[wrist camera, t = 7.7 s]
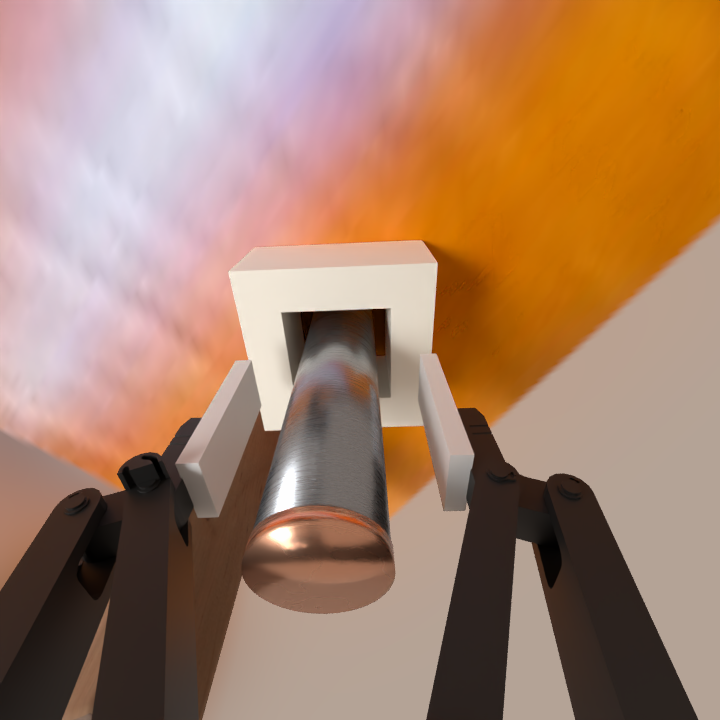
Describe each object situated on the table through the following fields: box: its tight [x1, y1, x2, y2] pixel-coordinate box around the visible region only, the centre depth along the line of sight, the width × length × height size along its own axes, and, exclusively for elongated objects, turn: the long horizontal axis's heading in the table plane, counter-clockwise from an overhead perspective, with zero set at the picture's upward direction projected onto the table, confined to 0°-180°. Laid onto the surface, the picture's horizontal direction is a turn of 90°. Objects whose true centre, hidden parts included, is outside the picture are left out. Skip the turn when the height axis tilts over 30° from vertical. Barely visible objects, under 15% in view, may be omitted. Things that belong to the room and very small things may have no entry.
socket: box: [228, 240, 438, 431], centre depth 22 cm, size 10×10×5 cm
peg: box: [241, 309, 395, 614], centre depth 17 cm, size 4×4×17 cm
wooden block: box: [62, 411, 281, 720], centre depth 21 cm, size 9×4×18 cm, turn 36°
